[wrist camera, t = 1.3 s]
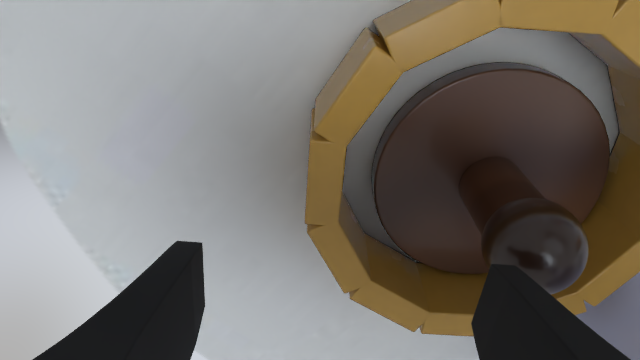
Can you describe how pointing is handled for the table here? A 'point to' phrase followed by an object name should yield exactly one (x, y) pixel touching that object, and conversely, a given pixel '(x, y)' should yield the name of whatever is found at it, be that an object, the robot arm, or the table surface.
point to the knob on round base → (493, 173)
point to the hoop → (372, 86)
